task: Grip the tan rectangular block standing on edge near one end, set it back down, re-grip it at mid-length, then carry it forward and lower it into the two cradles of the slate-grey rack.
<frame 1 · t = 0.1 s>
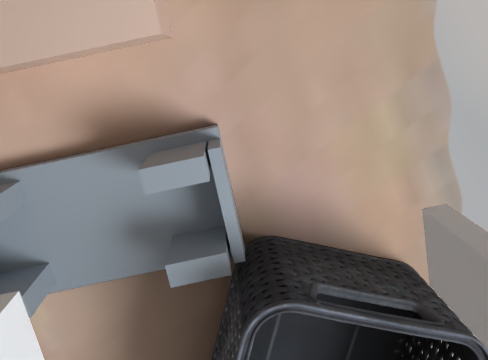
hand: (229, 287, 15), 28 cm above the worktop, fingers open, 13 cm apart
rack: (105, 214, 43), on the worktop
tan rectangular block: (52, 37, 39), on the worktop
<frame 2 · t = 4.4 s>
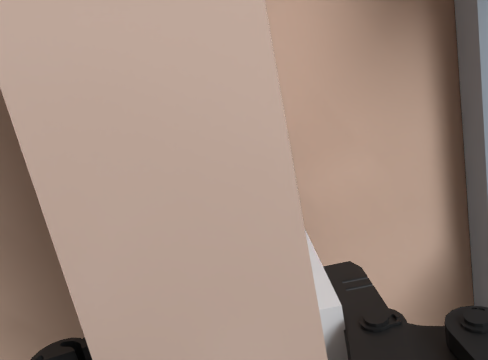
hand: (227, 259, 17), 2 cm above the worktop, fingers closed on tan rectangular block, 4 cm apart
tan rectangular block: (191, 93, 16), point 1 cm above the worktop, touching gripper
when the fingers open (0 cm above the worktop, at t = 4.9 s): tan rectangular block stays where it is, on the worktop.
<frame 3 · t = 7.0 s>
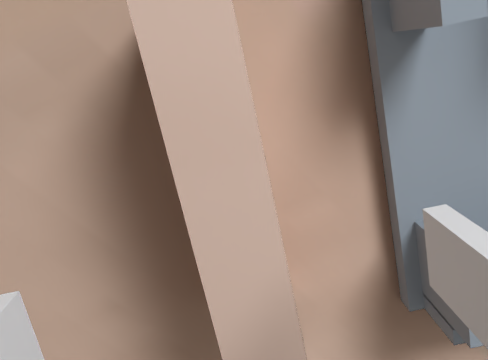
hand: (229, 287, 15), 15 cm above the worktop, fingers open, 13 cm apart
rack: (473, 111, 29), on the worktop
tan rectangular block: (226, 163, 29), on the worktop
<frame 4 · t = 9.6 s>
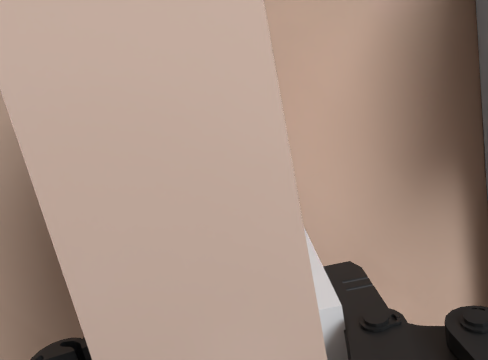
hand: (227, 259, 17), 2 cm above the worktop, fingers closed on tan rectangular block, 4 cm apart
tan rectangular block: (228, 253, 17), point 1 cm above the worktop, touching gripper
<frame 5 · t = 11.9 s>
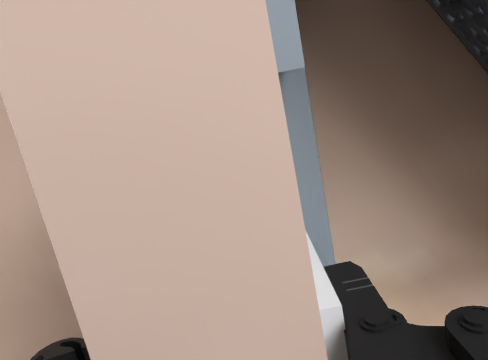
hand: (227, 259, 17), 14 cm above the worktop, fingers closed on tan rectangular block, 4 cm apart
rack: (223, 167, 30), on the worktop
tan rectangular block: (228, 254, 17), point 14 cm above the worktop, touching gripper
when the fingers open (3 cm above the worktop, at t = 14.1 s): tan rectangular block stays where it is, resting on rack.
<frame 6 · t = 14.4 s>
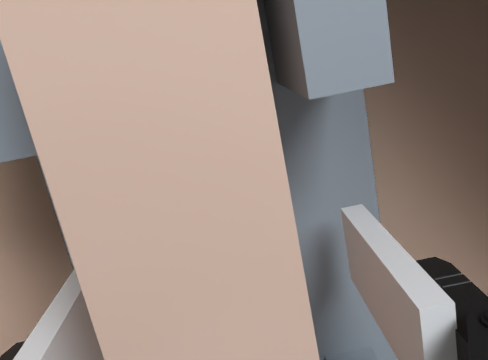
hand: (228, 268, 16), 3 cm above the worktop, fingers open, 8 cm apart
rack: (226, 232, 19), on the worktop
tan rectangular block: (225, 247, 18), point 1 cm above the worktop, touching rack
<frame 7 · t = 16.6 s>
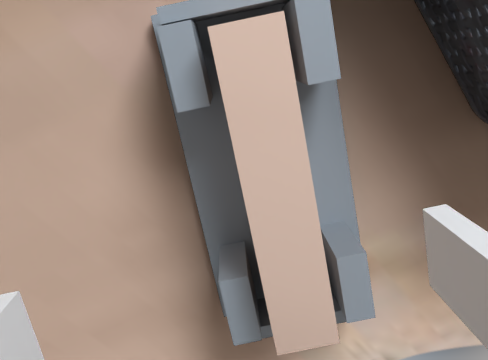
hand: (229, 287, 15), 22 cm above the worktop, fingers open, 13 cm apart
rack: (266, 159, 37), on the worktop
tan rectangular block: (267, 164, 35), point 1 cm above the worktop, touching rack
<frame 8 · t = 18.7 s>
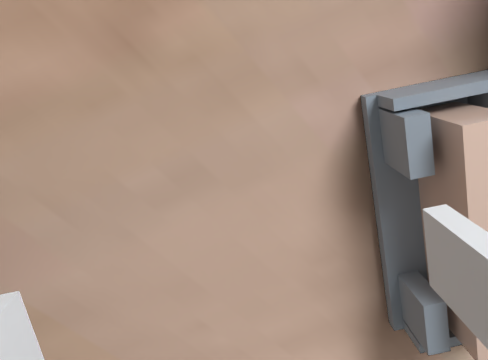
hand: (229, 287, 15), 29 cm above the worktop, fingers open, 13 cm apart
rack: (435, 204, 45), on the worktop
tan rectangular block: (442, 209, 44), point 1 cm above the worktop, touching rack
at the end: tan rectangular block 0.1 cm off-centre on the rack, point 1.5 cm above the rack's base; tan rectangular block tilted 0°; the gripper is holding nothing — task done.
